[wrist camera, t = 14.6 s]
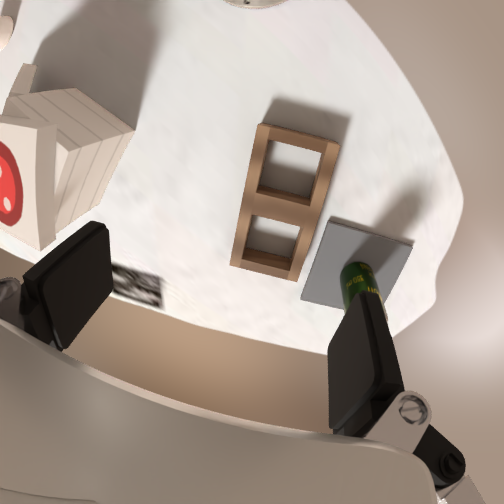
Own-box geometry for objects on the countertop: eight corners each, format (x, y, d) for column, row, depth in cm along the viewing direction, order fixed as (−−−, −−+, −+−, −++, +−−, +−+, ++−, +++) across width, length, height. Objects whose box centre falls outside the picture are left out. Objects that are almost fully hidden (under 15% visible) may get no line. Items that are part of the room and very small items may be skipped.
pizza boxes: (42, 53, 31) (-36, 60, 16) (152, 127, 37) (66, 154, 21) (12, 138, 40) (-55, 166, 24) (103, 220, 46) (36, 276, 30)
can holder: (261, 122, 35) (257, 124, 32) (336, 142, 35) (340, 145, 32) (234, 253, 45) (229, 265, 42) (297, 269, 45) (296, 282, 42)
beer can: (354, 294, 44) (365, 349, 34) (331, 275, 43) (338, 330, 33) (379, 272, 42) (397, 325, 31) (356, 252, 41) (371, 304, 30)
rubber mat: (327, 220, 40) (328, 222, 39) (411, 245, 40) (412, 247, 39) (300, 296, 47) (300, 299, 46) (375, 313, 47) (376, 316, 46)
